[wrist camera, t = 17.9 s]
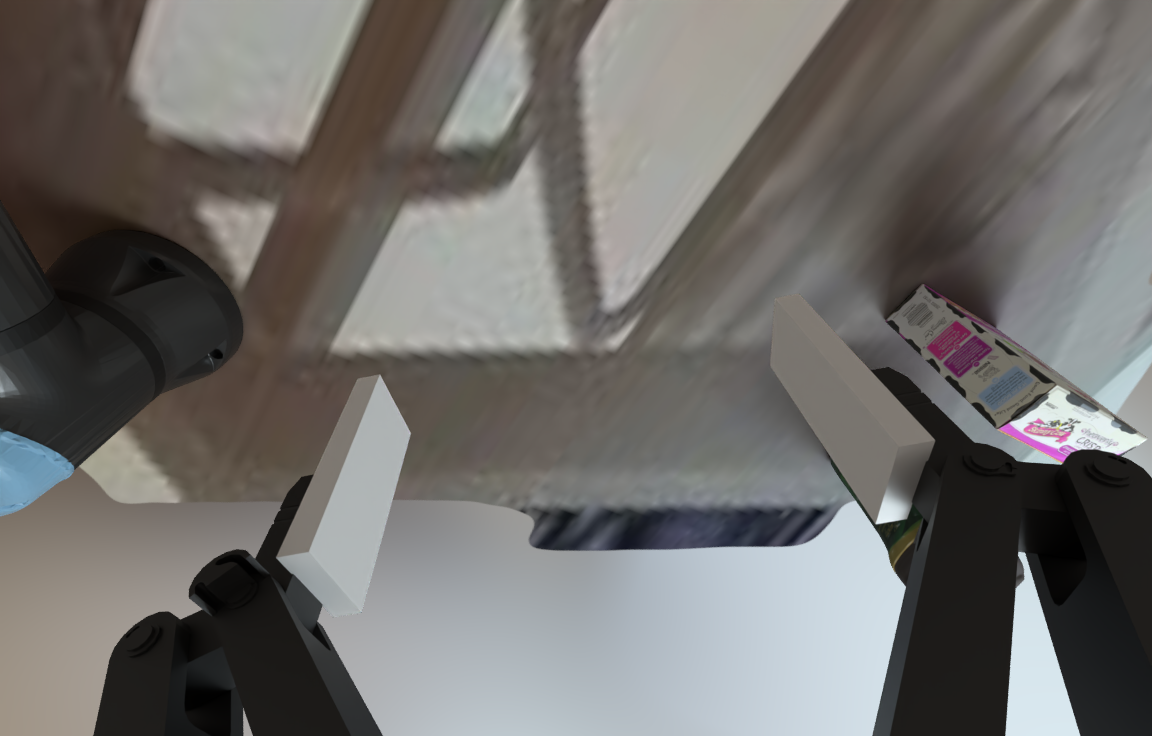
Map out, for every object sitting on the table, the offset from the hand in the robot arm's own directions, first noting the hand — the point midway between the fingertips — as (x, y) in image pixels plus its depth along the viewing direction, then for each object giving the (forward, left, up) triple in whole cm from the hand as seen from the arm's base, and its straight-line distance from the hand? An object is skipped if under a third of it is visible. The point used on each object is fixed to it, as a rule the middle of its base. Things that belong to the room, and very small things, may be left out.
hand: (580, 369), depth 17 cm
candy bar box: (+34, -20, -30) cm, 50 cm away
